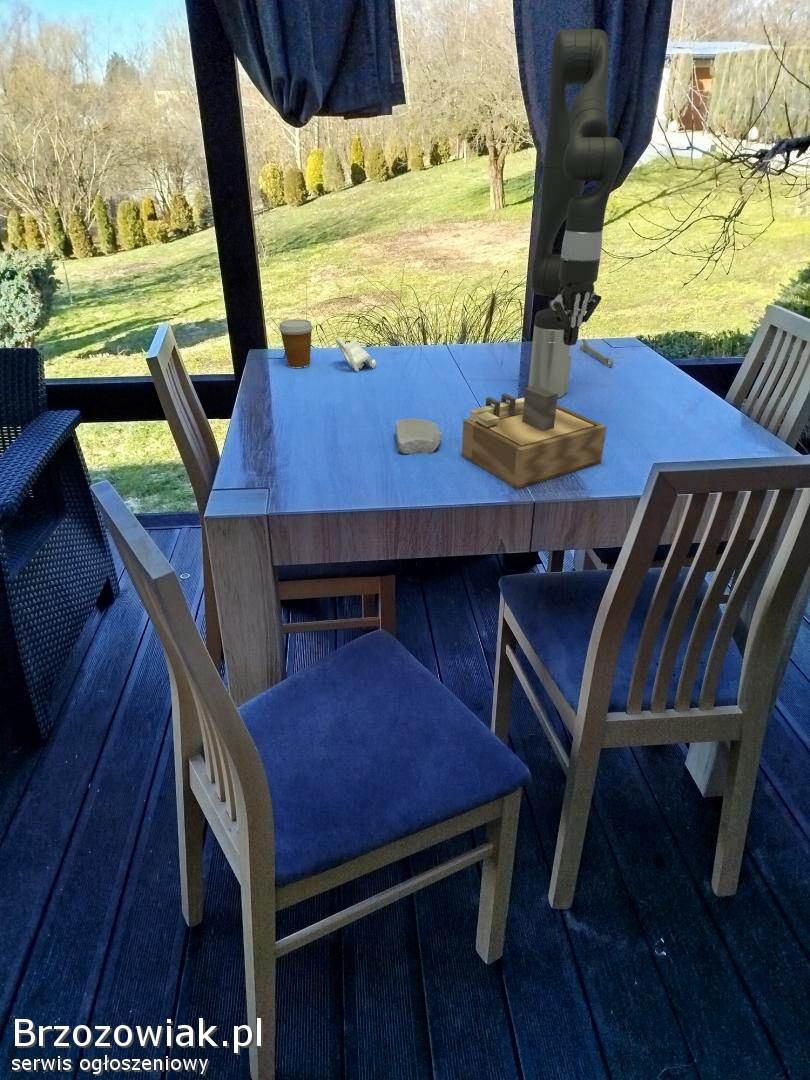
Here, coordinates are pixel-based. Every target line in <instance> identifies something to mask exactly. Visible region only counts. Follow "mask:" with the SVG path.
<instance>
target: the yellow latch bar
mask: <svg viewBox="0 0 810 1080" xmlns="http://www.w3.org/2000/svg"><path fill="white" fill-rule="evenodd" d="M524 398H525V396H524V397H521V398H516V402H515V412H519V411H523V409H524ZM494 408H495V405H494V404H491V405H490V406H486V405H485V406H483V407H478V408H474V409H471V410H469V418H470V420H471V421H473V422H479V423H481V424H483V425H485V426H491V425H495V424H499V417H497V416H494ZM509 410H510V401H509V400H506V402H503V403H501V402H500V414H499V416H503V415H507V414H509Z"/></svg>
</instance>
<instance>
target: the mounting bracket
mask: <svg viewBox="0 0 810 1080" xmlns="http://www.w3.org/2000/svg"><path fill="white" fill-rule="evenodd" d="M335 340H336V343H337V345H338V348H339V350H340V352H341V355H342V356H343V358H344V359H345V361H346V362H347V364H348V363H349V364H350V365H351V366H352V367H353V368H354V369H355V370H356V371H358V372H359V371H360V369H362V368H363V366H364V363H365V362H364V361H366V363H367V364H368V365H369V366H370V367H369V366H368V365H367V364H366V363H365V364H366V365H367V366H368V367H369V368H371V367H372V368H373V369H375V366H377V361H376V360H375V359H372V358H371V355H370V354H369V353H368V352H367V351H366V350H365V349H363V348H362V347H361V346H360V344H359V342H358V340H357V339H354V340H351V341H350V342H349V343H345V342H344V341H343V340H342V339H341V338H340V337H336V338H335ZM349 364H348V365H349ZM350 365H349V366H350ZM351 366H350V367H351ZM352 367H351V368H352ZM353 368H352V369H353ZM358 368H360V369H358ZM372 368H371V369H372ZM354 369H353V370H354ZM355 370H354V371H355ZM356 371H355V372H356Z"/></svg>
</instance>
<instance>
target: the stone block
mask: <svg viewBox="0 0 810 1080" xmlns="http://www.w3.org/2000/svg"><path fill="white" fill-rule="evenodd" d="M395 436H396V443H397V450H398V453H400V454H402V455H416V454H433V453H434V452H435V450H436V449H437V448H439V445H440V444H441V438H442V432H441V431H440V429H439V427H438V425H437V423H434V422H432V421H430V420H427V419H420V418H412V417H411V418H409V417H408V418H403V419H400V420H397V421H396V422H395Z"/></svg>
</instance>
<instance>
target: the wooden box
mask: <svg viewBox="0 0 810 1080" xmlns="http://www.w3.org/2000/svg"><path fill="white" fill-rule="evenodd" d="M500 396H501V397H500V401H499V400H497V399H495V398H493V397H491V396H488V397H486V398H485V407H486V406H490V405H495V408H494V416H497V417H499V420H501V419H505V418H509V417H513V416H517V415H521V414H523V411H519V412H515V402H516V399H517V398H516V397H514V396H512V395H510V394H507V393H502V394H500ZM507 401H510V410H509V414H507V415H503V416H499V414H500V403H503V402H507ZM556 409H558V410H560V411H563V412H565V413H567V414H569V415H572V416H574V417H576V418H579V419H581V420H583V421H585V422H588V423H590V424H592V425H594V427H592V428H588V429H585V430H581V431H577V432H574V433H570V434H567V435H563V436H559V437H556V438H552V439H549V440H545V441H541V442H538V443H534V444H530V445H527V446H523V447H521V446H519V445H517V444H515V443H513V442H511V441H510V440H508V439H506V438H504V437H502V436H500V435H498V434H496V433H494V432H493V431H491V430H489V429H487V428H485V427H483V426H482V424H481V423H479V422H473V421H471V420H470V417H469V418H466V419H463V423H462V444H461V445H462V446H461V457H463V458H465V459H466V460H468V461H469V462H471V463H473V464H474V465H476V466H478V467H479V468H481V469H483V470H485V472H487V473H489V474H491V475H493V476H494V477H496V478H498V479H499V478H500V480H501V481H503V482H504V481H505V482H504V483H506V484H507V485H509V484H510V485H509V486H511V487H512V488H514V487H515V488H514V489H516V488H517V489H516V490H519V488H520V489H523V488H526V487H529V485H530V486H532V485H536V484H539V483H542V482H545V480H546V481H549V480H552V479H555V478H558V476H559V477H561V476H565V475H567V474H572V473H575V472H577V471H581V470H584V469H586V468H589V467H593V466H597V465H600V464H602V458H603V452H604V446H605V440H606V434H607V427H608V426H606V425H604V424H602V423H600V422H597V421H595V420H593V419H591V418H588V417H586V416H584V415H581V414H580V413H576V412H575V411H572V410H569V409H567V408H565V407H563V406H561V405H559V404H557V406H556ZM548 479H549V480H548ZM535 483H536V484H535ZM522 487H523V488H522Z"/></svg>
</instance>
